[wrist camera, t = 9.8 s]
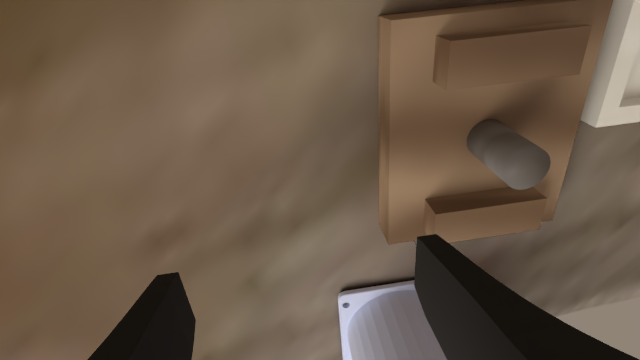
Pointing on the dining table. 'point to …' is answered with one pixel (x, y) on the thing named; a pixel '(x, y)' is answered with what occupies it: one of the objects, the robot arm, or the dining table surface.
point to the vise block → (481, 114)
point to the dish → (616, 70)
